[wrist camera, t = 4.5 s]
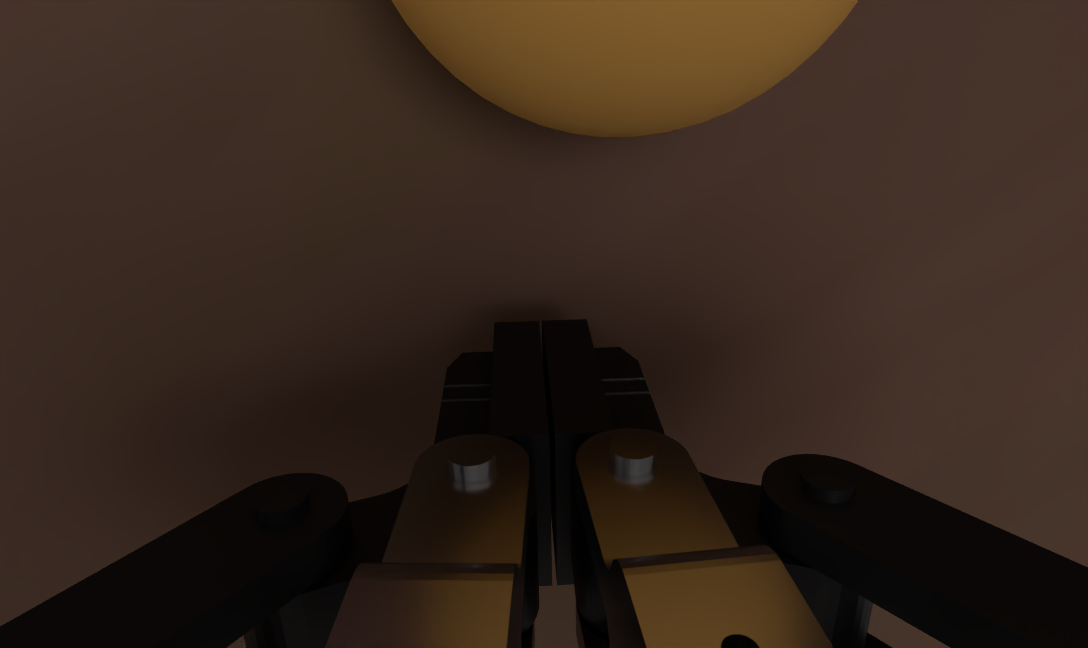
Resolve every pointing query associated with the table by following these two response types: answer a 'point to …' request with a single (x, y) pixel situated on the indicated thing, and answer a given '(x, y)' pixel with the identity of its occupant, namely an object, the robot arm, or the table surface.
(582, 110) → the ball
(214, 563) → the robot arm
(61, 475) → the table surface
